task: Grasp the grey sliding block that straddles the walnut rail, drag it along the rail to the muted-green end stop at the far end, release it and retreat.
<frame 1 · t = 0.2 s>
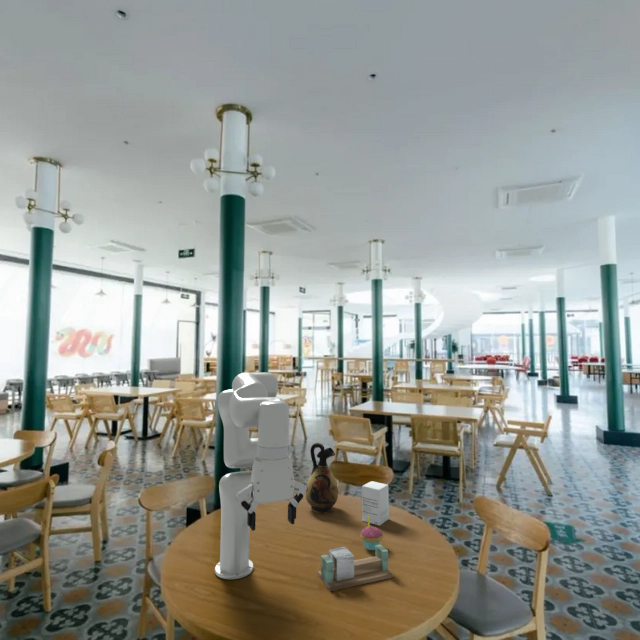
hand: (272, 525, 99), 31 cm above the table, fingers open, 9 cm apart
grey sliding block: (341, 563, 133), point 5 cm above the table, slide at -5.0 cm
ceramic jug: (320, 509, 192), on the table
cupcake: (371, 547, 155), on the table
supplement box: (375, 520, 180), on the table
rail bed: (355, 576, 134), on the table
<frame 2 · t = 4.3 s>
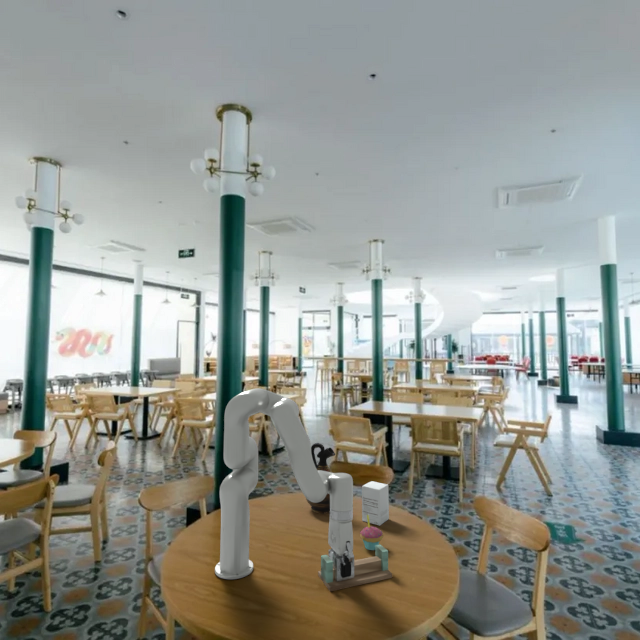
hand: (341, 570, 133), 3 cm above the table, fingers closed on grey sliding block, 6 cm apart
grey sliding block: (341, 563, 133), point 5 cm above the table, slide at -5.0 cm, touching gripper
everything else where it was.
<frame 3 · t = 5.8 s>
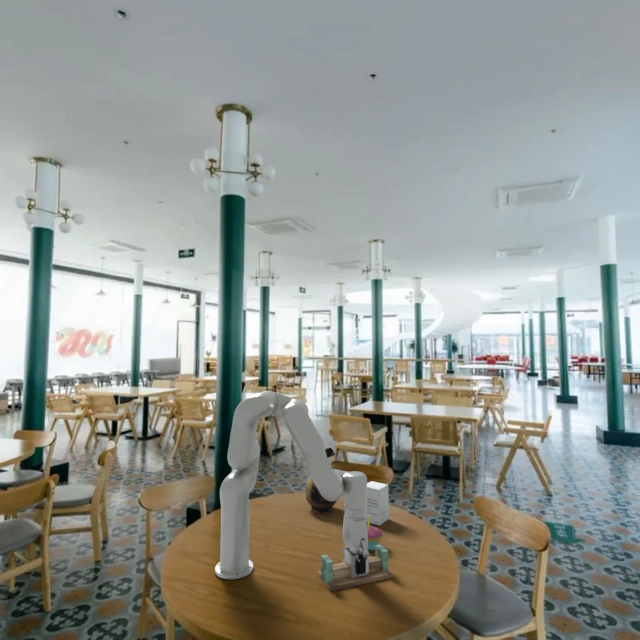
hand: (355, 567, 135), 3 cm above the table, fingers closed on grey sliding block, 6 cm apart
grey sliding block: (355, 560, 135), point 5 cm above the table, slide at 0.2 cm, touching gripper
everything else where it was.
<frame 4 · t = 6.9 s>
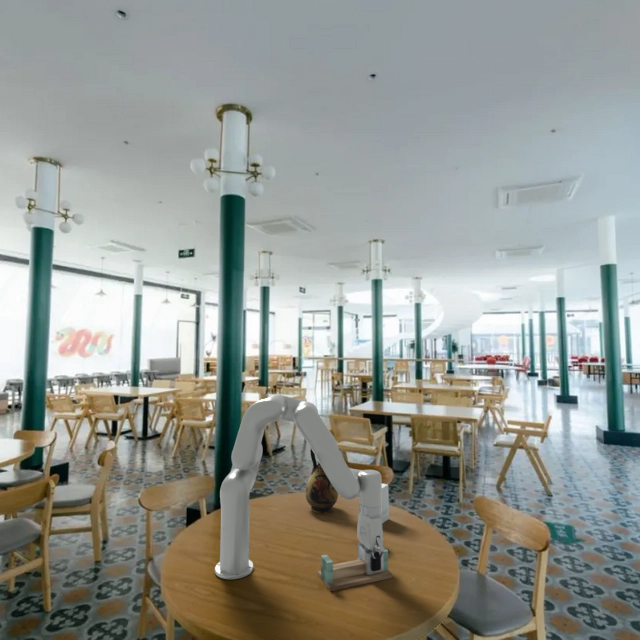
hand: (370, 564, 137), 3 cm above the table, fingers closed on grey sliding block, 6 cm apart
grey sliding block: (370, 557, 137), point 5 cm above the table, slide at 5.7 cm, touching gripper
everything else where it was.
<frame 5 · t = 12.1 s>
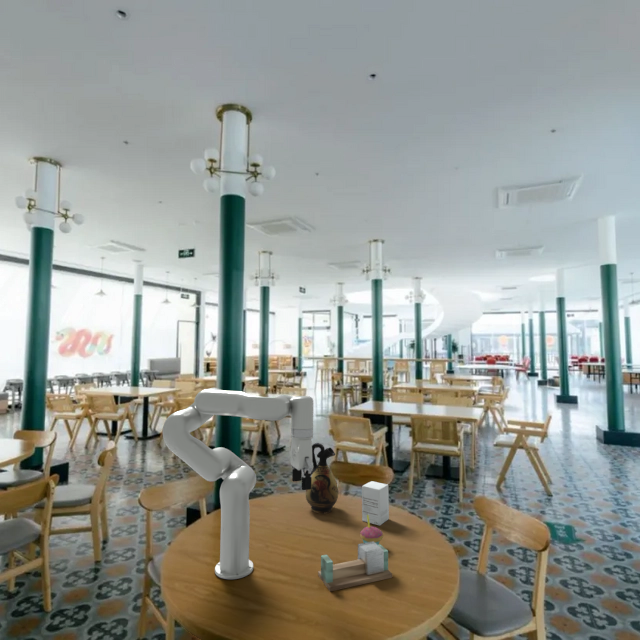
hand: (301, 485, 138), 28 cm above the table, fingers open, 9 cm apart
grey sliding block: (370, 557, 137), point 5 cm above the table, slide at 5.8 cm
everything else where it was.
at the end: grey sliding block slide at 5.8 cm; the gripper is holding nothing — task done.
